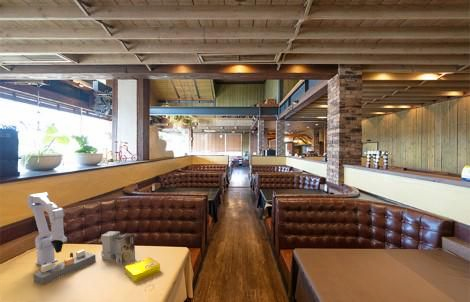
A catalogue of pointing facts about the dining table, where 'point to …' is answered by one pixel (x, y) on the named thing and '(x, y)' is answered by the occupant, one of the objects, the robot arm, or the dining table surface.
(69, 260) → the orange block
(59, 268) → the breaker panel
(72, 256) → the cord posts
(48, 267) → the paddle
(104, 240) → the circuit breaker
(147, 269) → the element tile
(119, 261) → the coffee box
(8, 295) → the dining table surface
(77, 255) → the paddle
